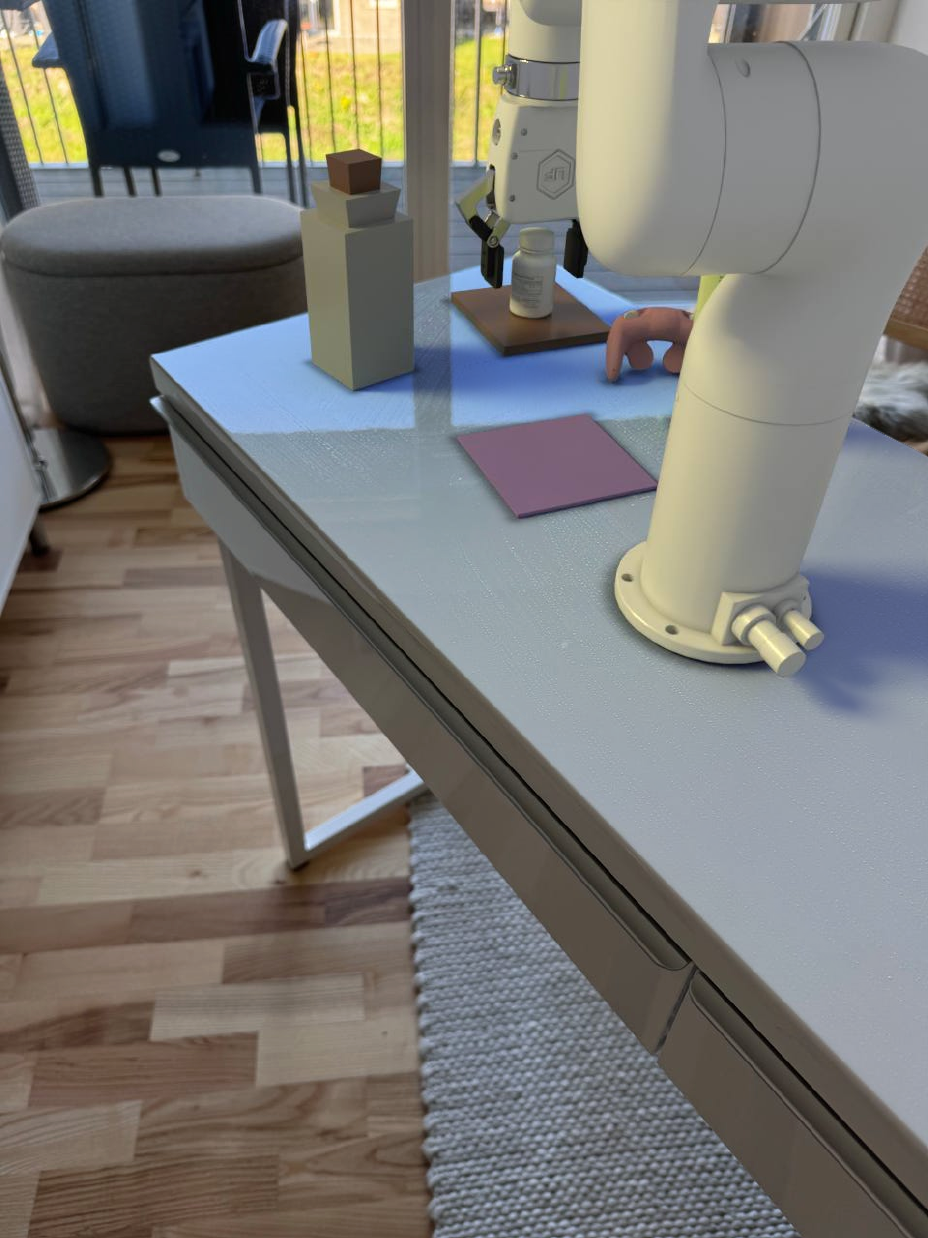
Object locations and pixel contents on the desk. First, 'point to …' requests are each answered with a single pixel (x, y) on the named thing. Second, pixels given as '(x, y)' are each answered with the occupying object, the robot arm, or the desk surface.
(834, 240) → the robot arm
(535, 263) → the pill bottle
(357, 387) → the perfume bottle
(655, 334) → the video game controller
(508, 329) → the board
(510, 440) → the purple square plate
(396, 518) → the desk surface
